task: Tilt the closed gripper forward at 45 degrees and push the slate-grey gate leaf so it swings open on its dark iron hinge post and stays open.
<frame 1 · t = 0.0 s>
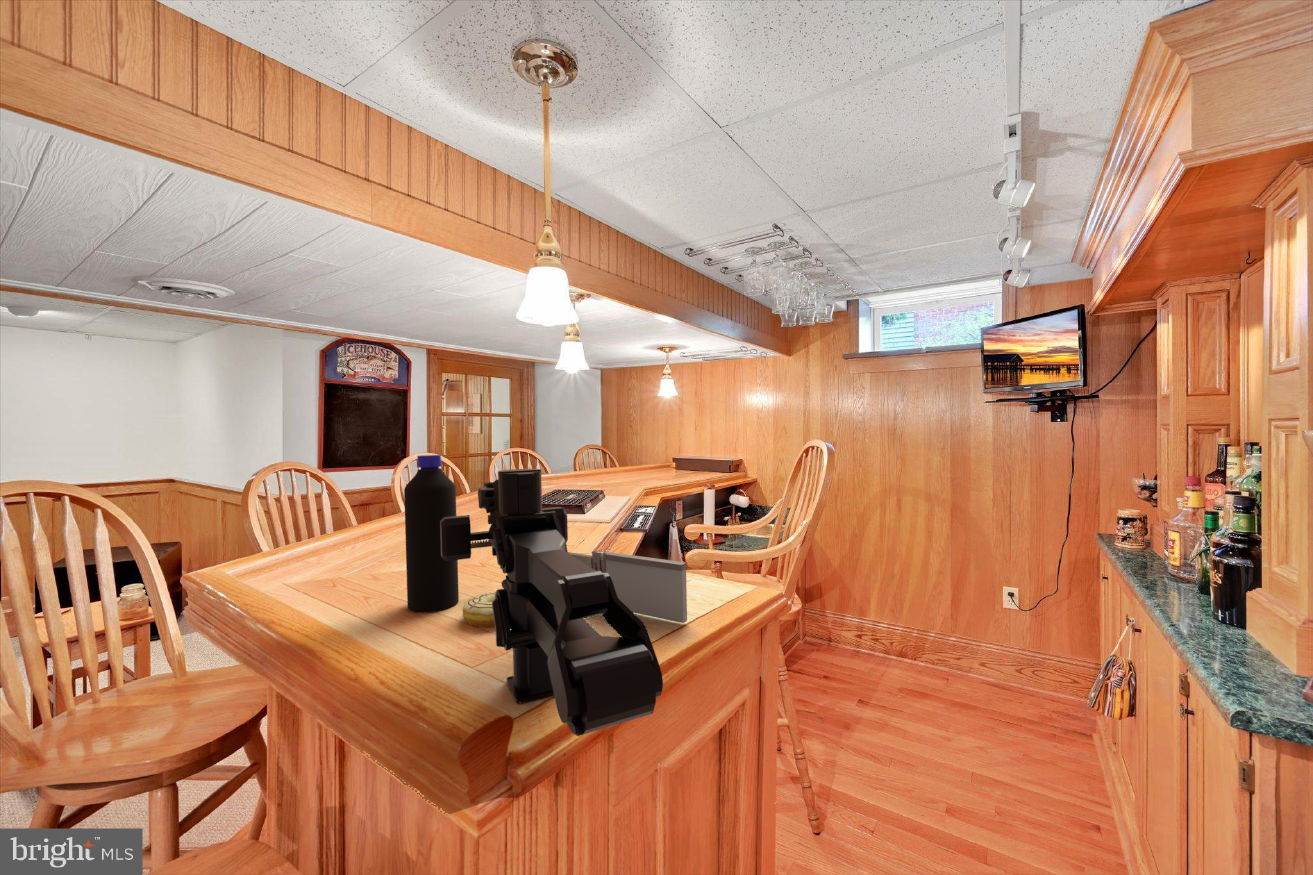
hand: (496, 524, 87), 17 cm above the countertop, tool horizontal, fingers open, 9 cm apart
bottle: (433, 605, 97), on the countertop
decorated donut: (496, 620, 90), on the countertop
gate leaf: (642, 585, 89), point 5 cm above the countertop, hinge at 0.0°
gate frame: (607, 608, 93), on the countertop
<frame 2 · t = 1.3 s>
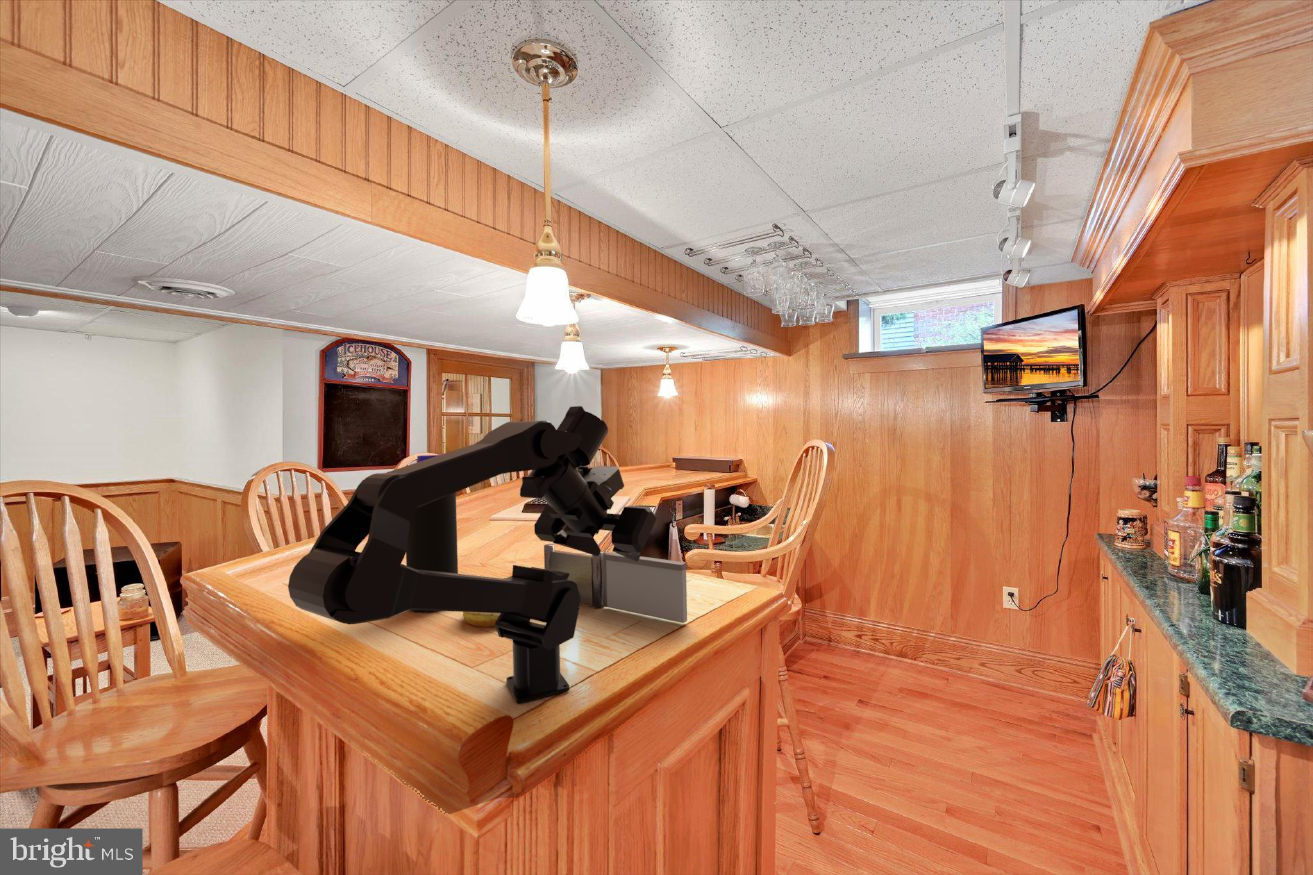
hand: (618, 556, 80), 13 cm above the countertop, tool tilted 45°, fingers open, 7 cm apart
nothing on the countertop moved.
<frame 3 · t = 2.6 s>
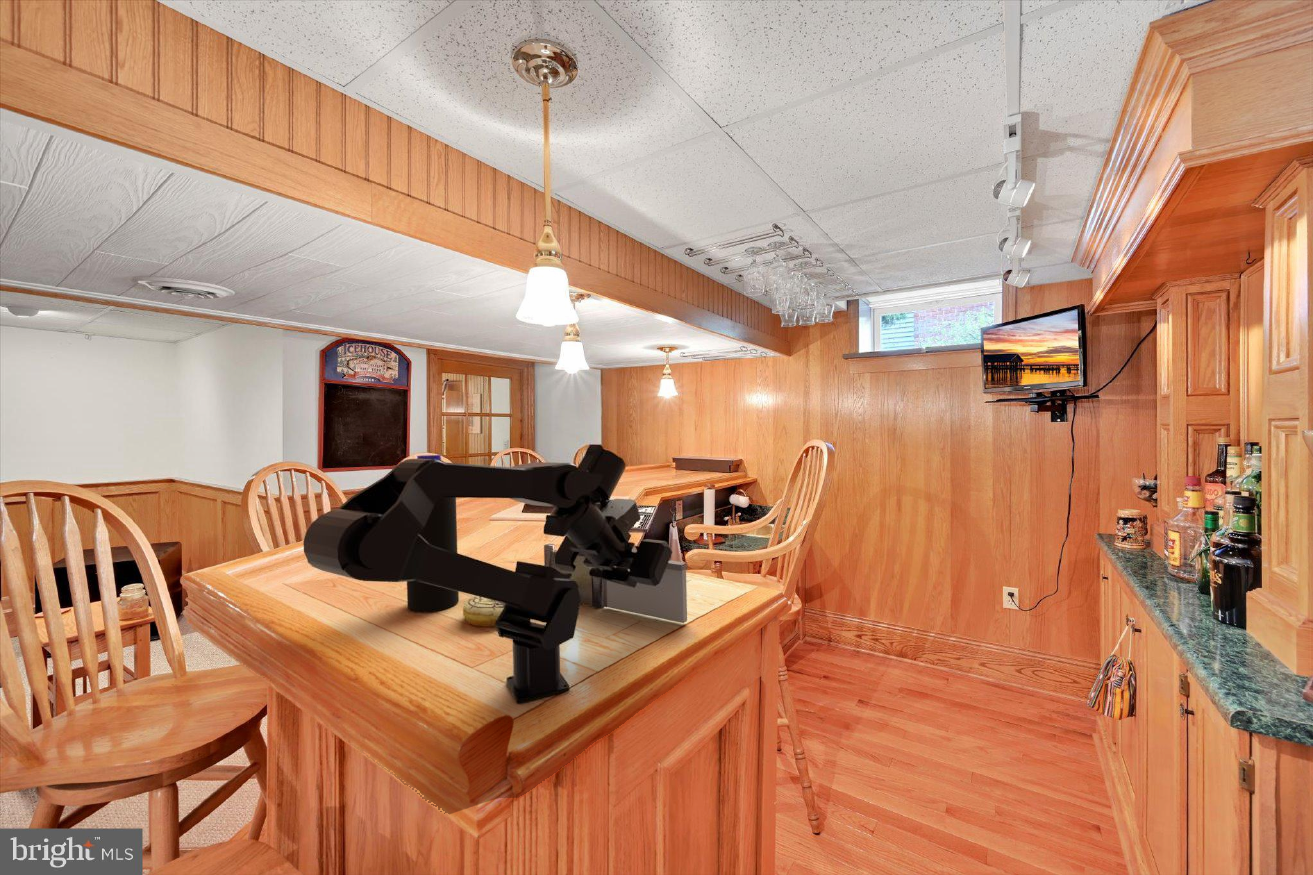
hand: (634, 584, 83), 7 cm above the countertop, tool tilted 45°, fingers closed
nothing on the countertop moved.
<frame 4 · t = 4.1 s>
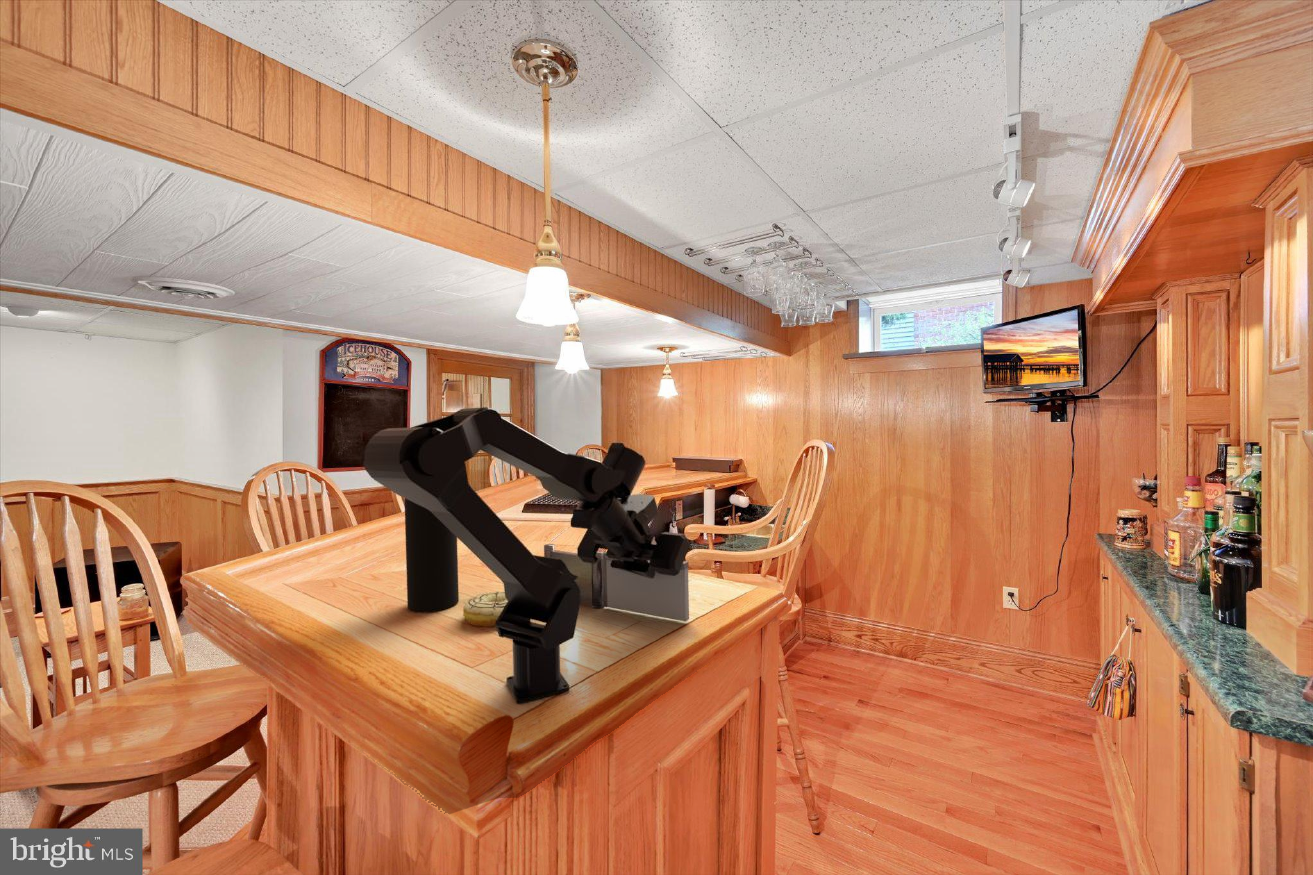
hand: (652, 575, 87), 7 cm above the countertop, tool tilted 45°, fingers closed, pressing on gate leaf
gate leaf: (643, 584, 89), point 5 cm above the countertop, hinge at 2.8°, touching gripper
everything else where it was.
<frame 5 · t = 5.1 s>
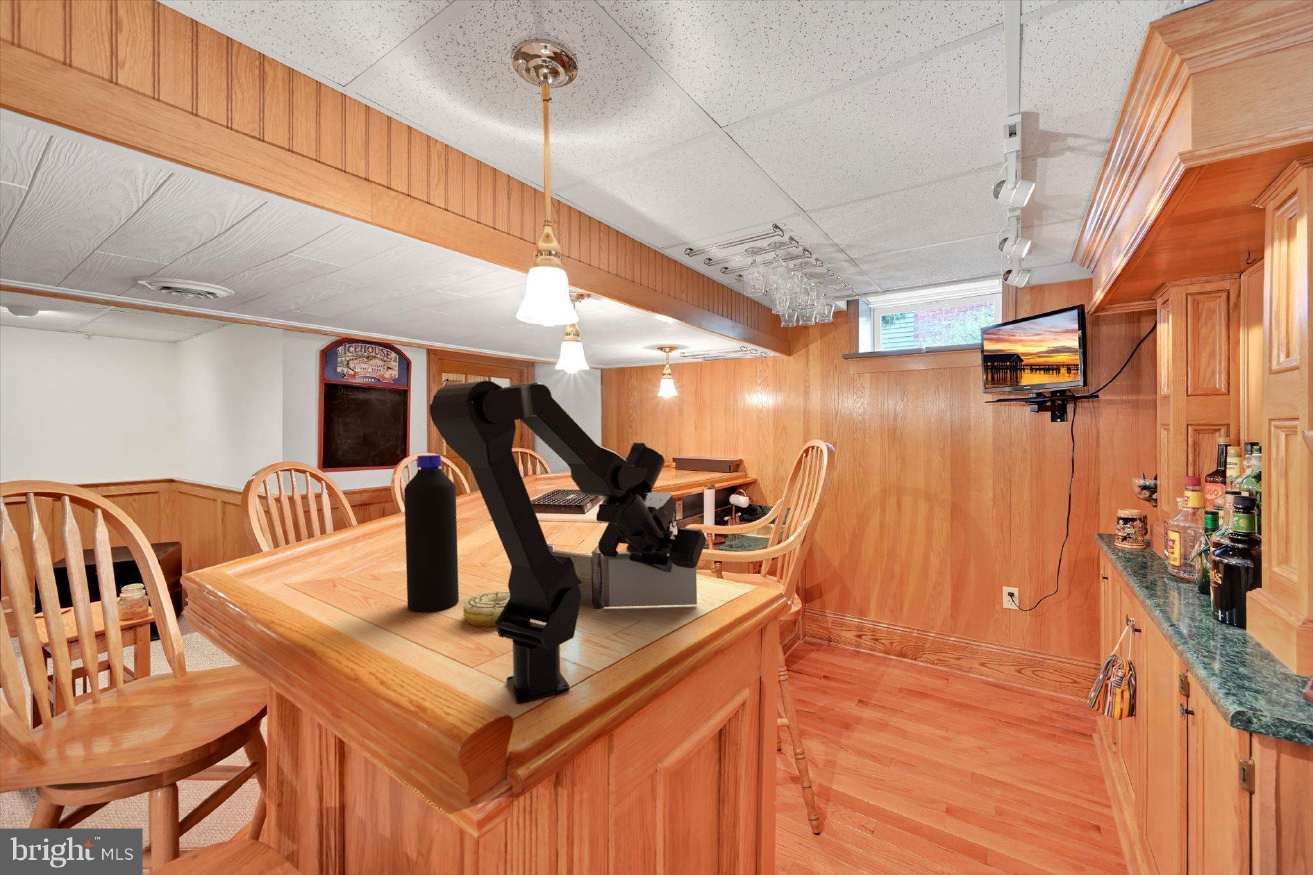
hand: (668, 569, 92), 7 cm above the countertop, tool tilted 45°, fingers closed
gate leaf: (649, 578, 93), point 5 cm above the countertop, hinge at 33.5°, touching gripper
everything else where it was.
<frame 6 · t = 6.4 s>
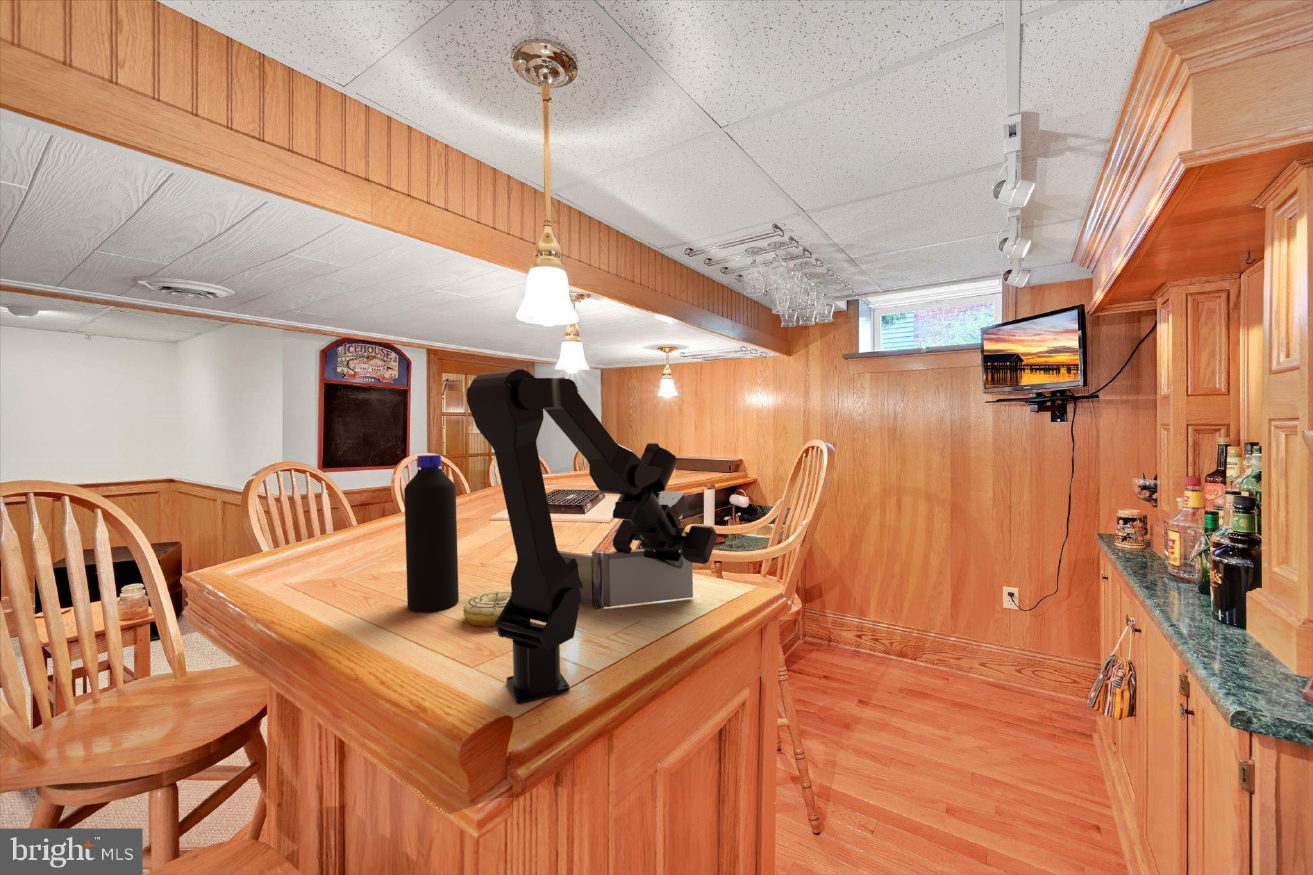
hand: (680, 566, 95), 7 cm above the countertop, tool tilted 45°, fingers closed
gate leaf: (648, 575, 95), point 5 cm above the countertop, hinge at 48.1°, touching gripper
everything else where it was.
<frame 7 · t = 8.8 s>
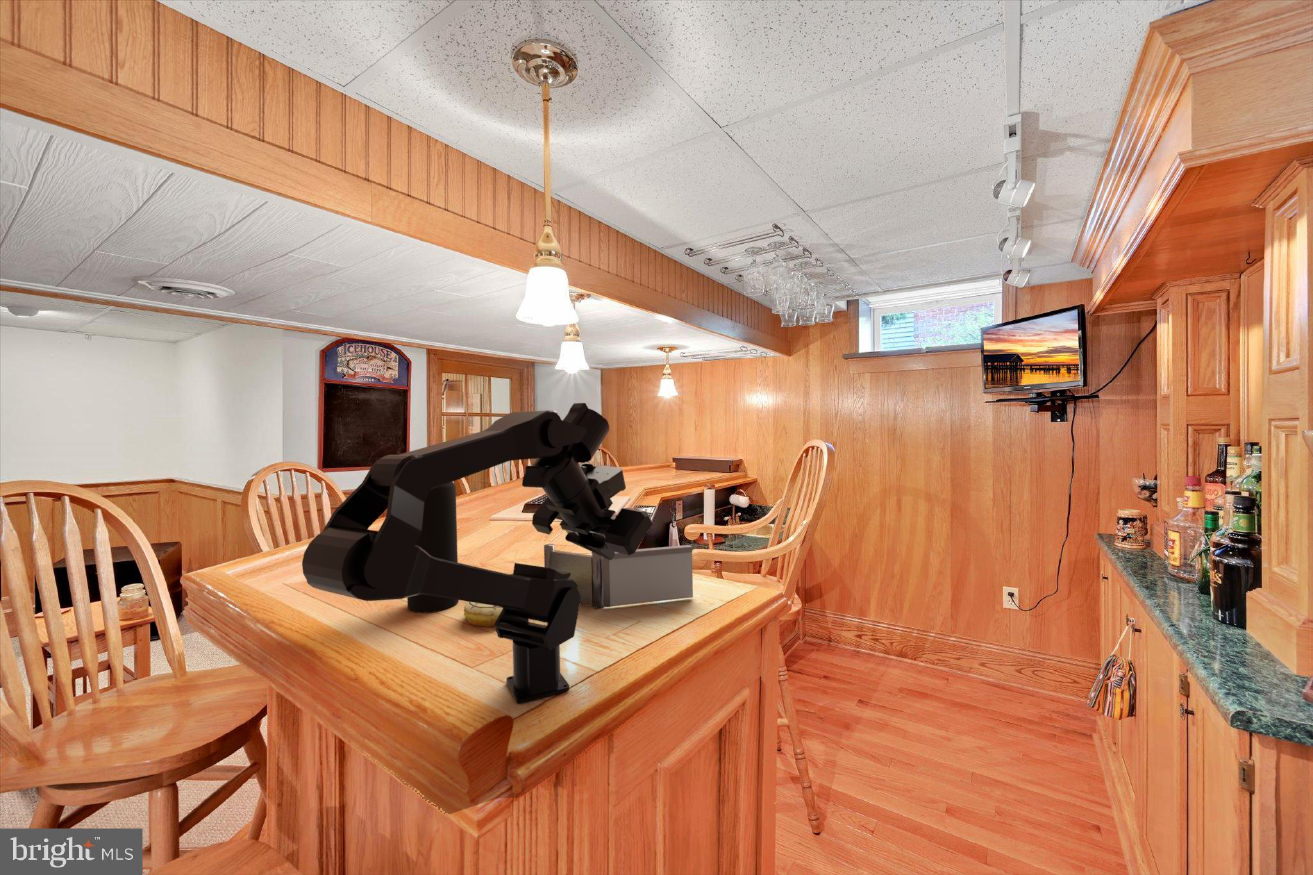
hand: (611, 557, 80), 12 cm above the countertop, tool tilted 40°, fingers closed
gate leaf: (648, 575, 95), point 5 cm above the countertop, hinge at 48.2°
everything else where it was.
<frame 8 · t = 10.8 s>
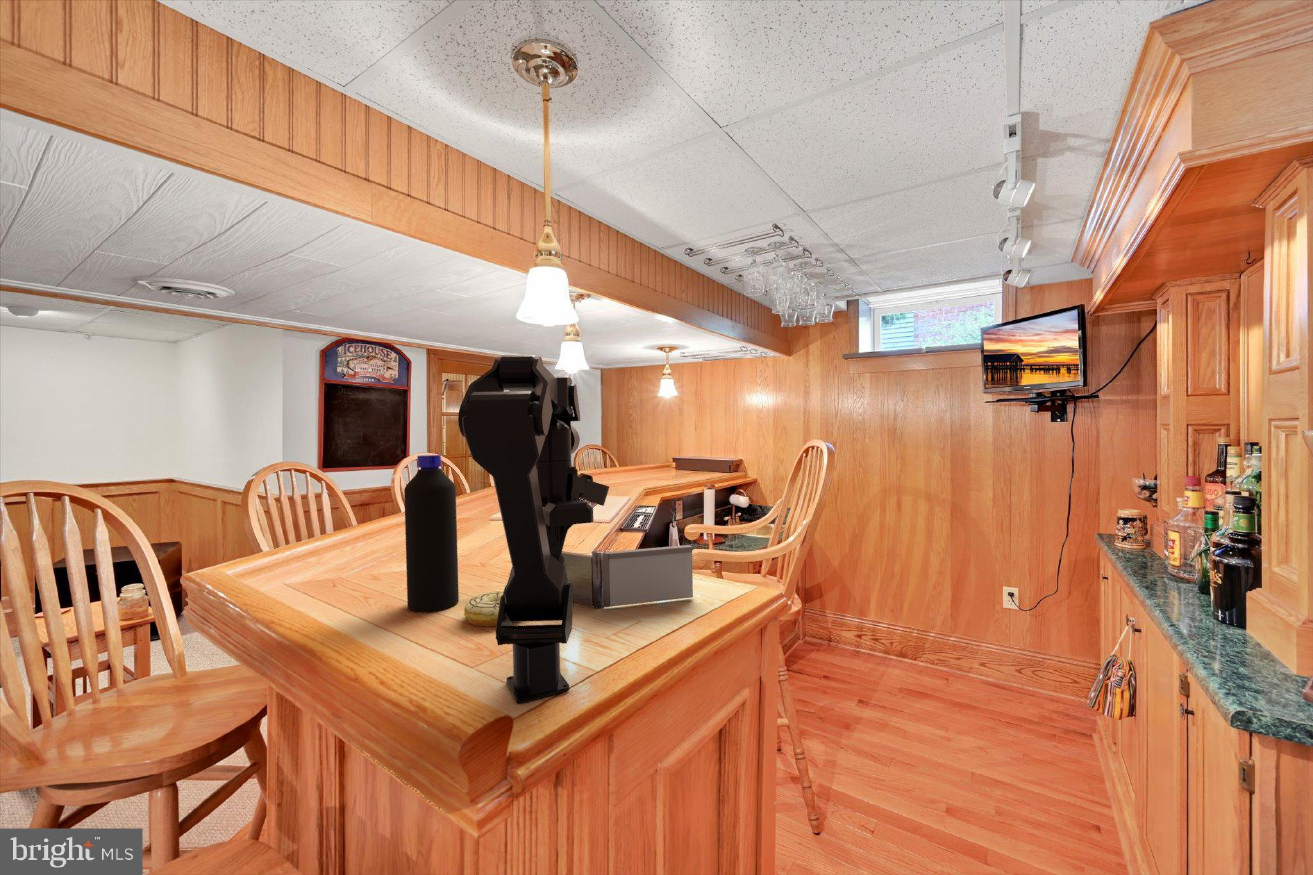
hand: (554, 563, 78), 12 cm above the countertop, tool pointing down, fingers closed
nothing on the countertop moved.
at the end: gate leaf at +48° (first picture: +0°); decorated donut moved 0.5 cm from its start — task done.
